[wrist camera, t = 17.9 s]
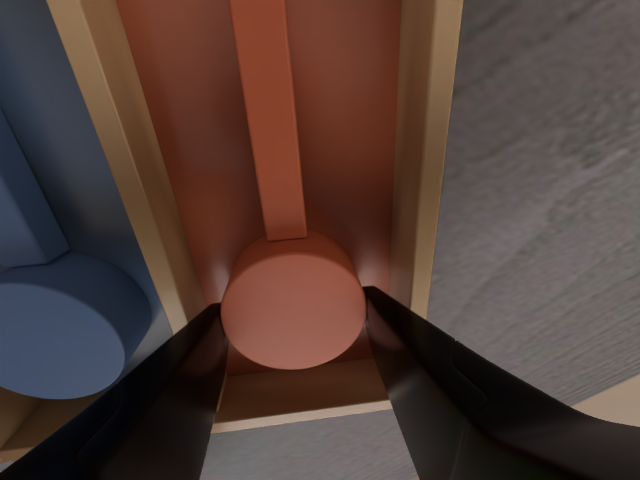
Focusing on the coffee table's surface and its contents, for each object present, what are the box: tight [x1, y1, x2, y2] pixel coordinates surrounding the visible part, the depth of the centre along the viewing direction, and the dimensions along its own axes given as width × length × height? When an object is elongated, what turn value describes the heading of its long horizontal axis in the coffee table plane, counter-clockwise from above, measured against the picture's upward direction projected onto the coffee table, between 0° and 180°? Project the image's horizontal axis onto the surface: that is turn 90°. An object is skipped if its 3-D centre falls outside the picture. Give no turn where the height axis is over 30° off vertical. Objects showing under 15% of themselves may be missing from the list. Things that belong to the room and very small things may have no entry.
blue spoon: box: [0, 107, 151, 399], centre depth 8 cm, size 10×4×2 cm, turn 4°
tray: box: [0, 0, 463, 463], centre depth 8 cm, size 17×15×2 cm
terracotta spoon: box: [220, 0, 367, 370], centre depth 8 cm, size 10×4×2 cm, turn 4°
